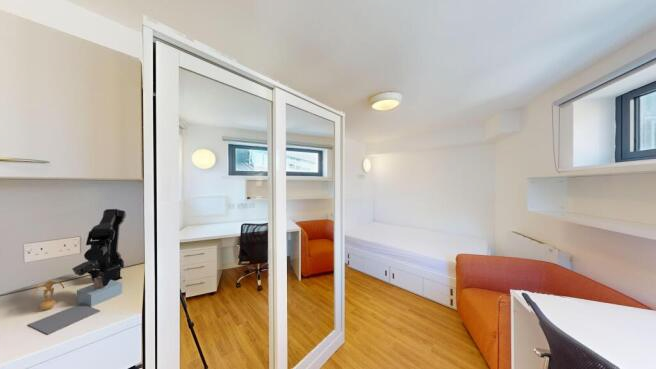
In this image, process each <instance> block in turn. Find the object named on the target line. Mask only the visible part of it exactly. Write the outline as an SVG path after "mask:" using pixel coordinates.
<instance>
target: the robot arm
mask: <svg viewBox="0 0 656 369" xmlns="http://www.w3.org/2000/svg"><path fill="white" fill-rule="evenodd" d="M102 213H103V214H102V218H101V220H100V222H99V223H98V224H97V225H94V226H93V227H92V228H91V230H90V231H89V232H88V235H87V238H86V242H85V246H90V248H89V249H87V251H85V253H84V256H83V257H84V259H85V262H82V263H81V264H78V265H76V266H74V267H72V272H74V274H75V275H77V276H80V277H81V276H84V275H86V274H89V276H90V277H91V280H92V282H93V283H94V278H96V277H99V276H100V277H101V278H102V283H103V287H105V286H107V285H108V283H109V281H110V280H113V281H118V280H120V279H123V276H121V272H122V268H124V267H125V262H124V259H123V258H122V254H121V253H120V252H119V251H118V249H119V248H118V247H119V238H120V237H119V236H120V227H121V225H122V224H123V222H125V219H126V218H127V213H126V211H125V210H121V209H118V208H107V209H104V211H103V212H102Z"/></svg>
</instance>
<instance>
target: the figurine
mask: <svg viewBox="0 0 656 369" xmlns="http://www.w3.org/2000/svg"><path fill="white" fill-rule="evenodd" d="M54 284H59V285H60V287H61V288H62V289H65V286H64V284H62V282H61V281H54V280H47V281H46V282H45V283H42V284H41V285H38V286H37V287H36V288H35V290H33V291H32V294H31V297H33V296H34V294H35V293H36V292H37V290H38V289H39V288H42V287H44V288H45V289H44V290H43V293H42V294H43V298H44V301H43V302H41V303H40V305H39V308H40V310H42V311H44V310H46V311H47V310H50V309H51V308H52V309H53V307H54V306H55V305H56V303H57V301H56V300H55V299H53V295H54V292H55V291H54V290H55V288H54V287H53V286H54ZM48 292H49V293H50V296H49V297H50V298H49V299H48V298H47V294H48Z"/></svg>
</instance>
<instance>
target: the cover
mask: <svg viewBox="0 0 656 369" xmlns="http://www.w3.org/2000/svg"><path fill="white" fill-rule="evenodd" d="M122 294H123V282H120V281H118V280H115V281H113V280H110V281H109V283H108V285H107V286H105V287H103V283H102V278H101V277H100V276H99V277H96V278H94V282H93V284H90V285H87V286H85V287H81V288H78V289H76V298H75V299H76V300H75V301H76V303H78V304H84V305H86V306H89V307H92V308H93V307H94V306H96V305H99V304H101V303H103V302H105V301H108V300H110V299H113V298H115V297H118V296H120V295H122Z"/></svg>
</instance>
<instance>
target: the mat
mask: <svg viewBox="0 0 656 369" xmlns="http://www.w3.org/2000/svg"><path fill="white" fill-rule="evenodd" d="M99 312H101V310H99V309H97V308H95V307H93V306H92V307H90V306H87V305H85V304H82V303H78V304H77V305H73V306H71V307H68V308H66V309H63V310H60V311H59V312H56V313H54V314H53V313H52V314H51V315H49V316H45V317H43V318H41V319H38V320H35V321H33V322H31V323H29V324H28V323H27V326H28V327H30V328H32V329H33V330H37V331H38V332H41V333H43V334H45V335H47V336H48V335H50V334H53V333H55V332H57V331H60V330H62V329H64V328H66V327H68V326H70V325H73V324H75V323H77V322H80V321H82V320H84V319H87V318H88V317H90V316H93V315H96V313H99Z"/></svg>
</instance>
